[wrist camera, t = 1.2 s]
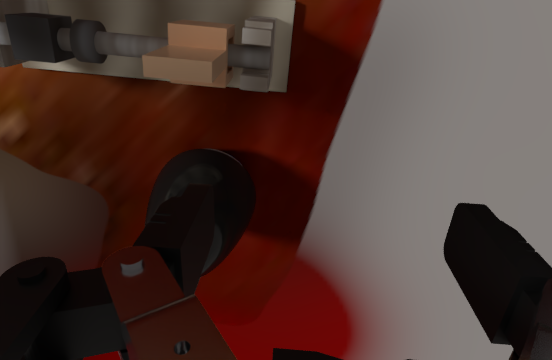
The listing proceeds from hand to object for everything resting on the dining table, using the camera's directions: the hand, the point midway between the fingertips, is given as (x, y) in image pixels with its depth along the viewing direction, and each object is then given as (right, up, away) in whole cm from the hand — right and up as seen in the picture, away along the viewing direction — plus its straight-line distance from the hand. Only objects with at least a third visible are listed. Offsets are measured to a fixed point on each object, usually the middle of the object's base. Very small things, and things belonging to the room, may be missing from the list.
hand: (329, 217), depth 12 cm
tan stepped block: (-7, +12, +17) cm, 22 cm away
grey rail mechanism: (-13, +15, +22) cm, 30 cm away
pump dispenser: (-9, +2, +29) cm, 30 cm away
